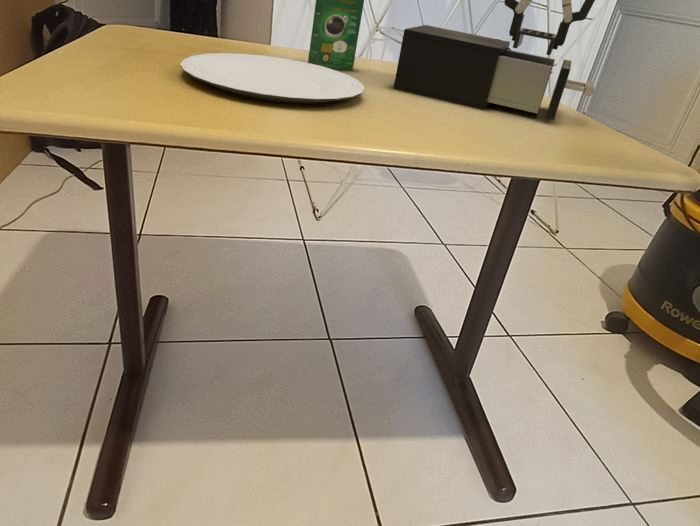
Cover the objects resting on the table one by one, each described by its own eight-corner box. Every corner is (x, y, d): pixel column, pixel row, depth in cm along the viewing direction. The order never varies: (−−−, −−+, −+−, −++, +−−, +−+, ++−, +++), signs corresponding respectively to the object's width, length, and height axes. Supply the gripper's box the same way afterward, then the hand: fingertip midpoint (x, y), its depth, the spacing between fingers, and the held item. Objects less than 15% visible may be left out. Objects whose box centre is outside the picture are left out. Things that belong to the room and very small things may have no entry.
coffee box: (345, 68, 99) (356, -14, 92) (354, 72, 97) (367, -12, 90) (306, 67, 94) (315, -20, 88) (315, 71, 92) (325, -17, 86)
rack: (552, 50, 88) (557, 34, 87) (550, 55, 81) (555, 37, 80) (517, 43, 89) (522, 27, 88) (512, 47, 82) (517, 30, 81)
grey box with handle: (583, 112, 92) (599, 66, 88) (583, 127, 81) (601, 76, 78) (477, 88, 96) (488, 43, 93) (464, 99, 86) (477, 50, 82)
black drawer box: (495, 97, 96) (510, 41, 92) (483, 111, 85) (500, 48, 81) (414, 79, 100) (425, 24, 95) (392, 90, 88) (404, 28, 84)
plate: (385, 119, 71) (388, 105, 70) (180, 102, 64) (180, 85, 63) (339, 75, 92) (340, 63, 91) (180, 58, 84) (180, 45, 83)
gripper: (518, -96, 75) (484, 37, 83) (629, -80, 72) (583, 57, 80) (522, -89, 82) (491, 34, 90) (625, -74, 78) (582, 52, 86)
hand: (534, 44), depth 85 cm, fingers closed on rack, 5 cm apart
